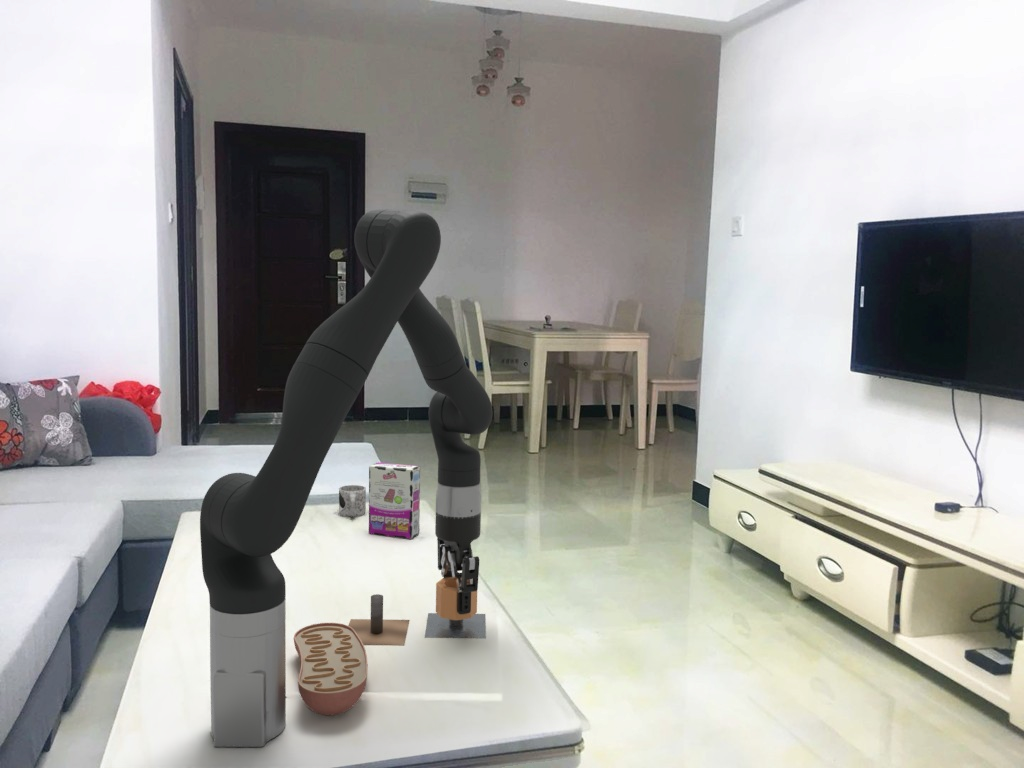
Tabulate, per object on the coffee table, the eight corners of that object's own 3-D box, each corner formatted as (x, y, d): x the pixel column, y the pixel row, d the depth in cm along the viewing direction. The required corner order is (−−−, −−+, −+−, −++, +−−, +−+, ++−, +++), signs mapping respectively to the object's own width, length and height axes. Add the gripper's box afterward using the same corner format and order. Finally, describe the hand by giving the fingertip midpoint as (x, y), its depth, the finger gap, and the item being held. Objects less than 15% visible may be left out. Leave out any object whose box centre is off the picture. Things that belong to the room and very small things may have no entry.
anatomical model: (292, 656, 127) (292, 625, 126) (356, 649, 129) (357, 619, 129) (299, 733, 105) (299, 696, 104) (376, 723, 108) (376, 687, 107)
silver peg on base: (485, 644, 132) (487, 600, 132) (424, 643, 132) (425, 599, 131) (485, 619, 142) (486, 578, 141) (428, 618, 142) (428, 577, 141)
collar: (480, 616, 135) (481, 587, 135) (444, 621, 133) (445, 592, 132) (467, 602, 141) (467, 574, 140) (432, 607, 138) (432, 579, 138)
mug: (338, 510, 209) (339, 485, 208) (365, 509, 210) (365, 484, 209) (338, 521, 199) (339, 495, 198) (366, 520, 200) (366, 494, 199)
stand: (404, 651, 129) (404, 608, 128) (340, 650, 128) (341, 608, 128) (409, 625, 139) (410, 586, 138) (350, 624, 138) (351, 585, 138)
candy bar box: (420, 533, 191) (421, 465, 189) (411, 539, 186) (412, 469, 184) (377, 528, 194) (377, 461, 192) (367, 534, 189) (368, 465, 187)
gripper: (496, 518, 130) (493, 618, 132) (464, 496, 143) (462, 588, 145) (451, 522, 127) (449, 625, 129) (423, 500, 140) (421, 593, 142)
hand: (456, 605), depth 137 cm, fingers closed on collar, 6 cm apart
